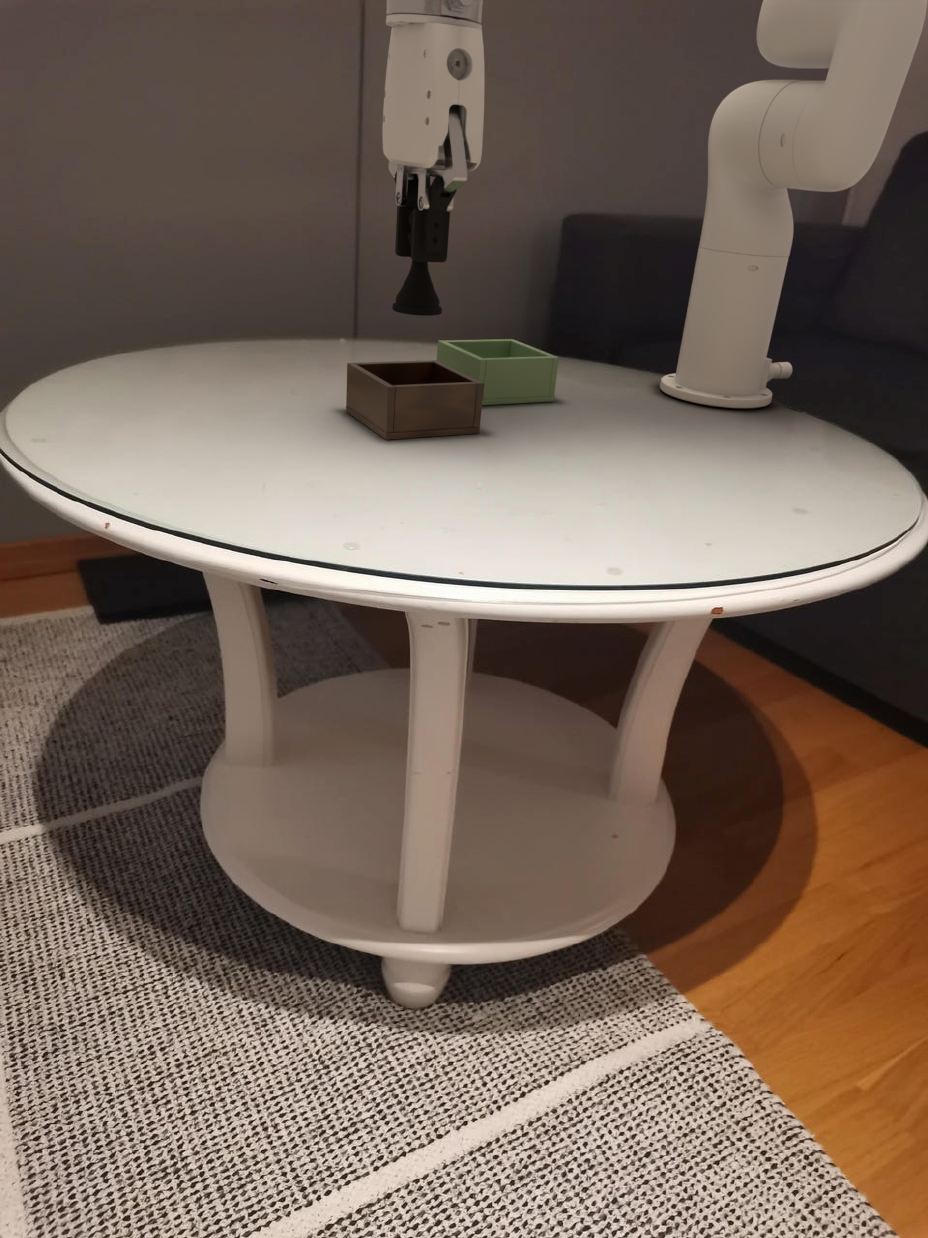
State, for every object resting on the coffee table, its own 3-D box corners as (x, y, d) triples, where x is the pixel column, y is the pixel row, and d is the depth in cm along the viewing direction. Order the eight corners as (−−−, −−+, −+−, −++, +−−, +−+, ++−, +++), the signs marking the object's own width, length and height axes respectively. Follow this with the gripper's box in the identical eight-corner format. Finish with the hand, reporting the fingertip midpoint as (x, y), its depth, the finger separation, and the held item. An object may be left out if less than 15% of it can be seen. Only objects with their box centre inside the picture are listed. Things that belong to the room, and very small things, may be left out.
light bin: (508, 380, 107) (512, 338, 105) (553, 401, 100) (559, 357, 98) (434, 383, 103) (437, 340, 100) (476, 405, 95) (480, 359, 93)
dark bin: (434, 406, 94) (437, 359, 92) (479, 433, 86) (484, 383, 84) (345, 411, 89) (346, 362, 87) (385, 439, 82) (388, 387, 80)
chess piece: (388, 312, 82) (393, 185, 77) (396, 305, 85) (402, 184, 81) (438, 317, 81) (446, 191, 77) (444, 310, 85) (453, 189, 81)
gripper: (530, 7, 69) (504, 273, 77) (432, 20, 81) (419, 248, 89) (438, -9, 65) (422, 271, 74) (351, 7, 78) (345, 245, 86)
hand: (420, 256), depth 81 cm, fingers closed on chess piece, 2 cm apart
